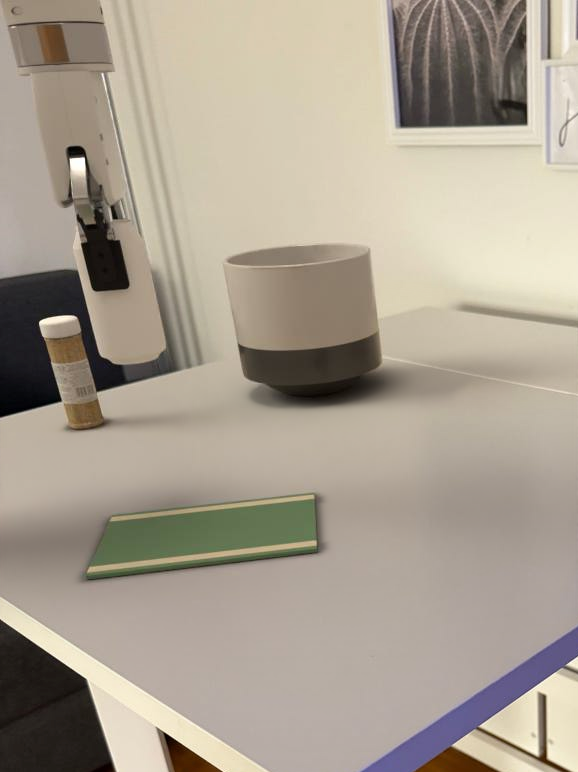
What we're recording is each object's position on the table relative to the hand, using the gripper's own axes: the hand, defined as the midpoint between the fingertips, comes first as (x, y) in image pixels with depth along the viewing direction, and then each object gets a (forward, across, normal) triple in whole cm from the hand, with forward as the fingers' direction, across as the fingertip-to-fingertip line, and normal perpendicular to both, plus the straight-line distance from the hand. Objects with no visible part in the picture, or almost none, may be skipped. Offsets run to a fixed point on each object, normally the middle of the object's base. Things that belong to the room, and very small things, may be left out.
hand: (116, 281), depth 85 cm
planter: (+22, -38, +17) cm, 47 cm away
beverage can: (+7, 0, 0) cm, 7 cm away
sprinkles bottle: (+22, -32, -13) cm, 41 cm away
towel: (+21, +11, +5) cm, 24 cm away
